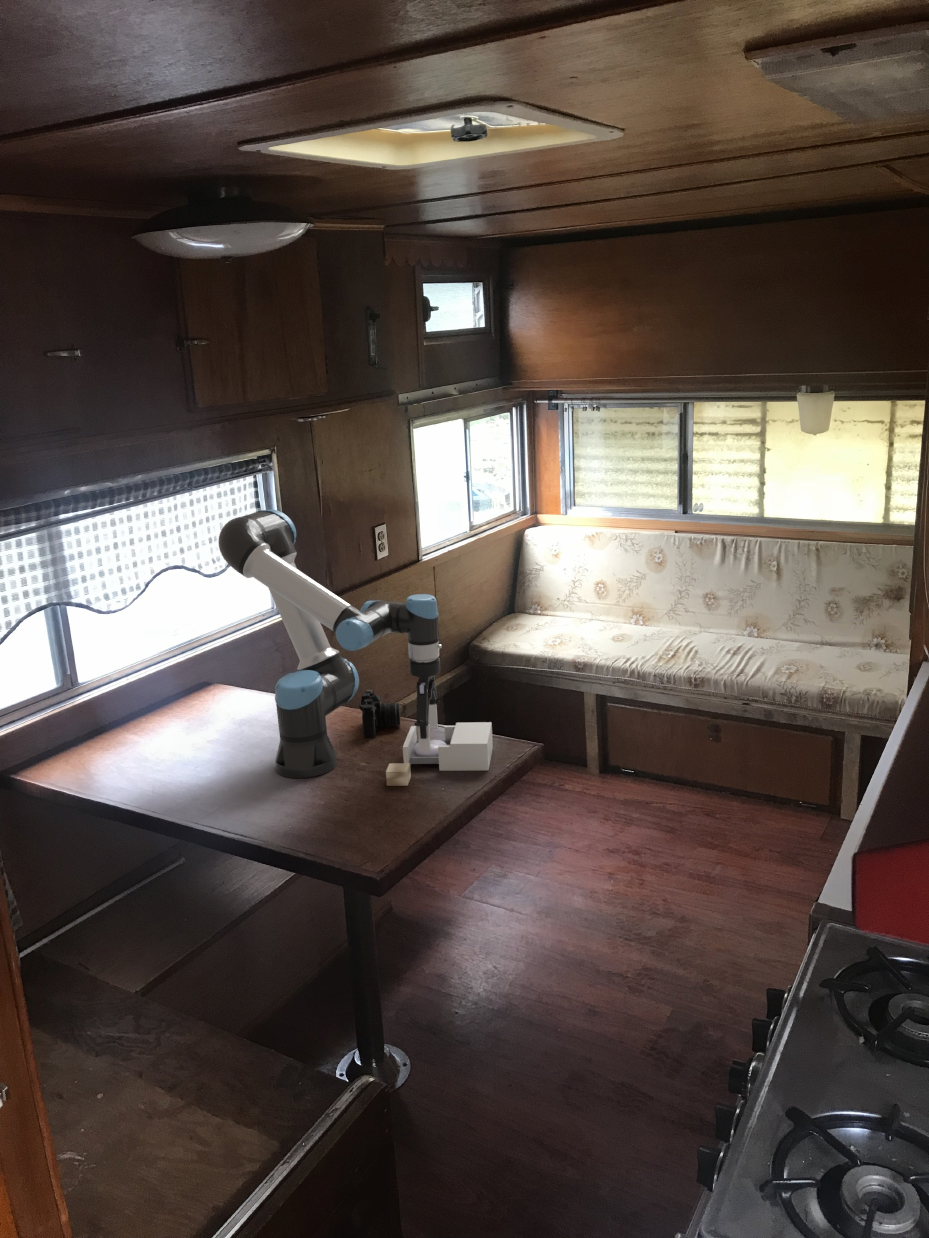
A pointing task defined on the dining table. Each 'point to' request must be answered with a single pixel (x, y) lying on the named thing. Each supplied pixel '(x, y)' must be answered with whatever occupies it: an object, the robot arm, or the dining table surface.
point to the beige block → (398, 774)
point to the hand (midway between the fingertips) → (428, 738)
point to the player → (466, 747)
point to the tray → (409, 750)
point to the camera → (377, 714)
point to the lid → (433, 751)
